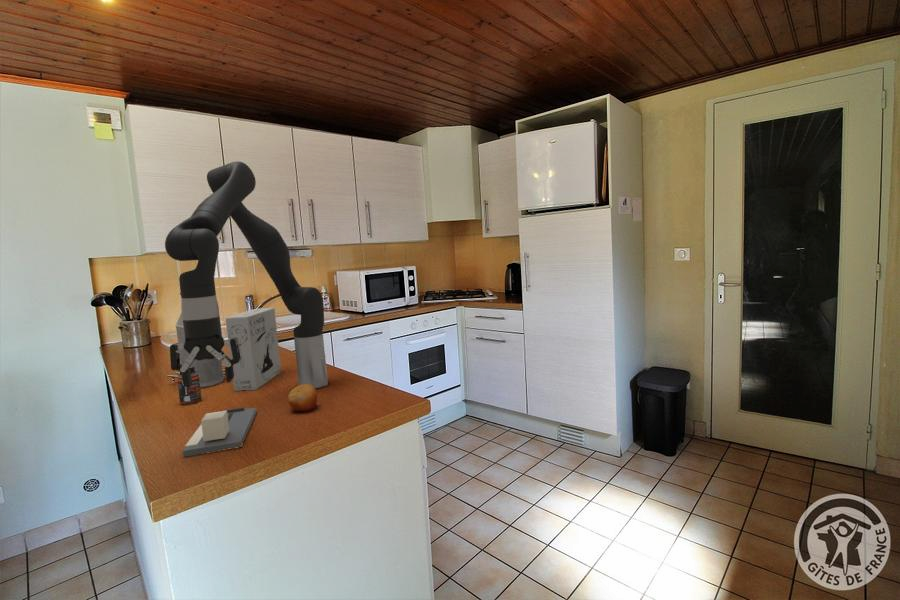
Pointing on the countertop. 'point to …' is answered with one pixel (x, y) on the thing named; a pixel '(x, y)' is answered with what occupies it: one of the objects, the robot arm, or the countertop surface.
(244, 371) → the cereal box
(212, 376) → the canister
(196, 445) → the board
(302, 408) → the fruit
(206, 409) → the countertop surface
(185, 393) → the supplement bottle
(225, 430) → the tab
